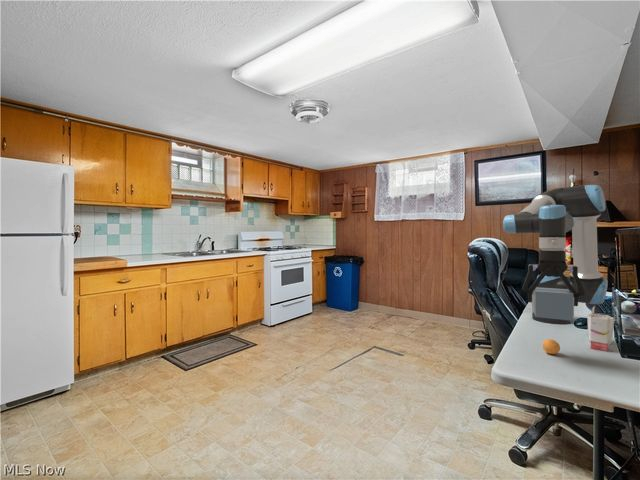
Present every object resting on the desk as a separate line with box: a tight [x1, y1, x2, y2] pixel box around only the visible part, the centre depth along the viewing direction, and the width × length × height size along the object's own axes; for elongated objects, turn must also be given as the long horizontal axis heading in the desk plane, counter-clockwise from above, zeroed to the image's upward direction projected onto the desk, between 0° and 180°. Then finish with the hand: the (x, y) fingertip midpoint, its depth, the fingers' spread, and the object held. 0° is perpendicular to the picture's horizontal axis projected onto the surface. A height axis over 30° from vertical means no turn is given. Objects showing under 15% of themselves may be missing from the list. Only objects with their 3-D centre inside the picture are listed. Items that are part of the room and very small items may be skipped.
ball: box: [542, 338, 561, 355], centre depth 112 cm, size 5×5×5 cm
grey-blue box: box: [532, 287, 574, 322], centre depth 110 cm, size 10×10×9 cm
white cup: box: [586, 313, 615, 345], centre depth 125 cm, size 8×8×10 cm
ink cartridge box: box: [590, 305, 611, 352], centre depth 119 cm, size 9×5×15 cm, turn 134°
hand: (552, 313), depth 110 cm, fingers closed on grey-blue box, 10 cm apart
